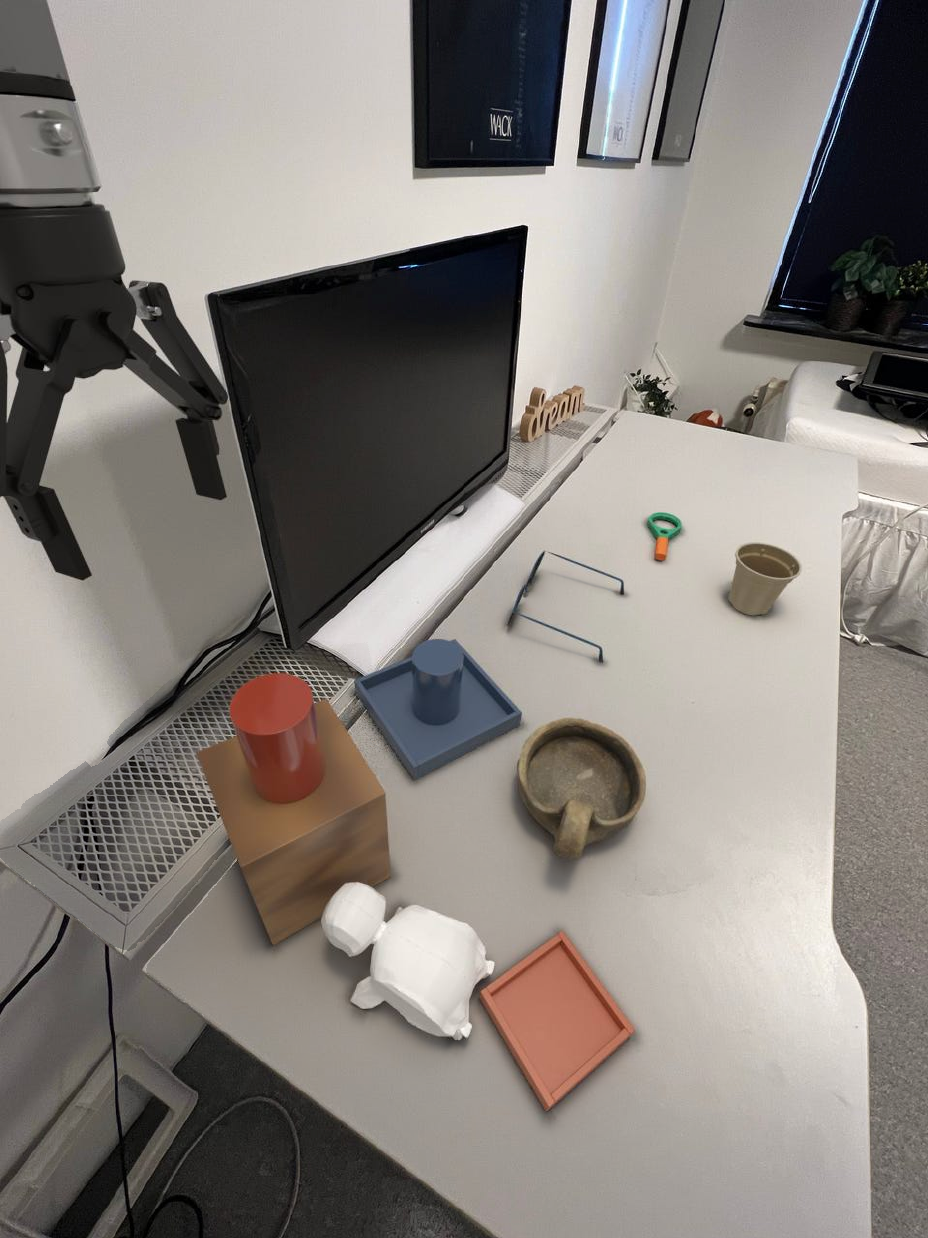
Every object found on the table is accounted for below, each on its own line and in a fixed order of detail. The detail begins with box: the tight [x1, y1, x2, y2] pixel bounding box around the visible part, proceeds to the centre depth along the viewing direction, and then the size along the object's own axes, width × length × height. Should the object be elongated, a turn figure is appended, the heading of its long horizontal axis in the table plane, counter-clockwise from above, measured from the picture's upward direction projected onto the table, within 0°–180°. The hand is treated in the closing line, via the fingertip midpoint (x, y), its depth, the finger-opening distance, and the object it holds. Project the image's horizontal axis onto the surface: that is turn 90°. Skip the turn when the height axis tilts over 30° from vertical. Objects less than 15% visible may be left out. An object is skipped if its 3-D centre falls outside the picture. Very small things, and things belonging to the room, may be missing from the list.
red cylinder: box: [228, 672, 325, 804], centre depth 47 cm, size 6×6×9 cm
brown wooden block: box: [195, 698, 392, 946], centre depth 55 cm, size 12×12×15 cm
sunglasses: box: [506, 550, 625, 663], centre depth 90 cm, size 17×15×5 cm
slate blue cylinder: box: [411, 638, 464, 725], centre depth 72 cm, size 6×6×9 cm
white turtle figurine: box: [320, 882, 496, 1041], centre depth 50 cm, size 9×8×15 cm
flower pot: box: [728, 541, 803, 617], centre depth 92 cm, size 9×9×9 cm
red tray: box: [478, 930, 636, 1113], centre depth 50 cm, size 9×9×2 cm
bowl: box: [516, 717, 647, 861], centre depth 62 cm, size 14×18×10 cm
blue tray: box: [353, 638, 523, 781], centre depth 74 cm, size 15×15×2 cm
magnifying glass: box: [647, 511, 683, 561], centre depth 107 cm, size 15×6×2 cm, turn 162°
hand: (150, 531), depth 47 cm, fingers open, 13 cm apart
